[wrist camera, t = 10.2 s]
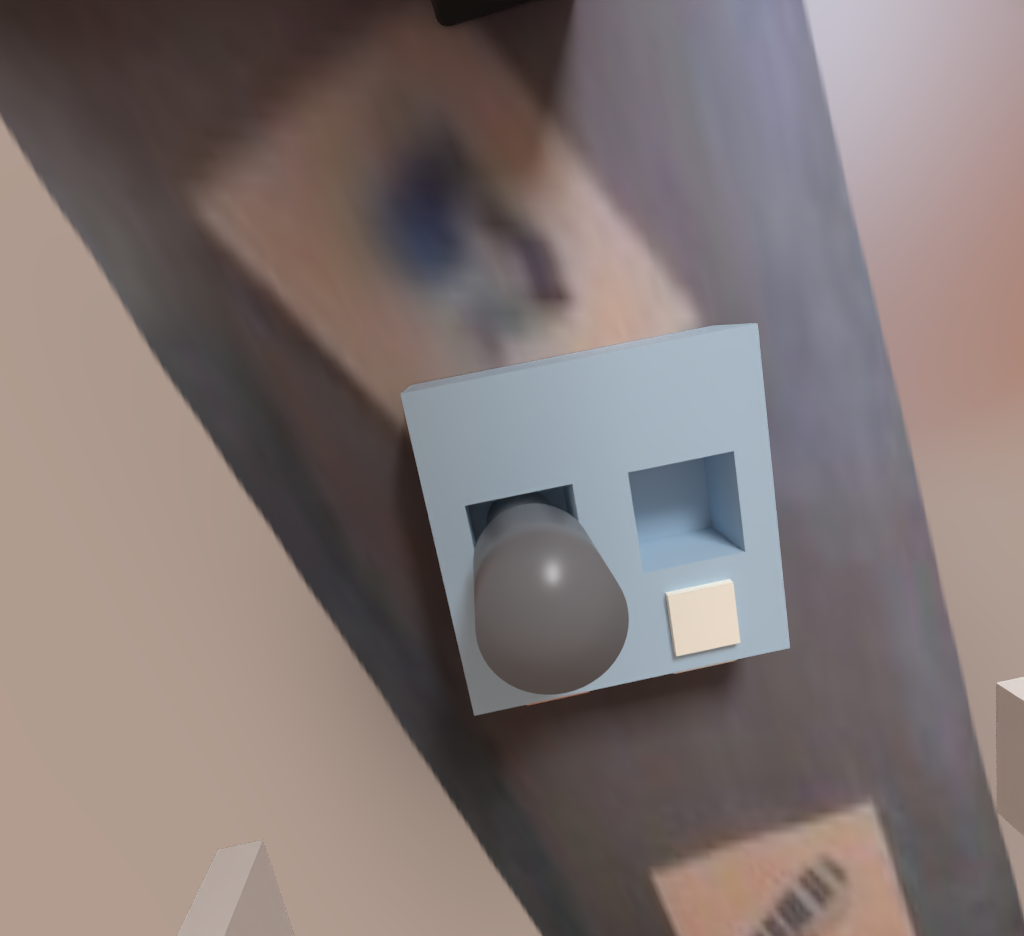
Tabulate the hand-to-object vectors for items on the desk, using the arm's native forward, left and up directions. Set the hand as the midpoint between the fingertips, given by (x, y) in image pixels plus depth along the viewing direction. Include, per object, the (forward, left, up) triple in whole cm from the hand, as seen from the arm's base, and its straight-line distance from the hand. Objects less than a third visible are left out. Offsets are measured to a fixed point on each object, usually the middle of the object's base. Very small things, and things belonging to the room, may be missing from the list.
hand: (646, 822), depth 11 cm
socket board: (+1, +3, -23) cm, 23 cm away
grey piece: (+1, -1, -22) cm, 22 cm away
